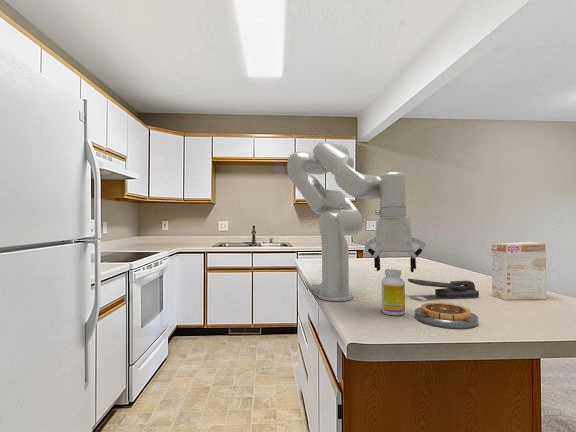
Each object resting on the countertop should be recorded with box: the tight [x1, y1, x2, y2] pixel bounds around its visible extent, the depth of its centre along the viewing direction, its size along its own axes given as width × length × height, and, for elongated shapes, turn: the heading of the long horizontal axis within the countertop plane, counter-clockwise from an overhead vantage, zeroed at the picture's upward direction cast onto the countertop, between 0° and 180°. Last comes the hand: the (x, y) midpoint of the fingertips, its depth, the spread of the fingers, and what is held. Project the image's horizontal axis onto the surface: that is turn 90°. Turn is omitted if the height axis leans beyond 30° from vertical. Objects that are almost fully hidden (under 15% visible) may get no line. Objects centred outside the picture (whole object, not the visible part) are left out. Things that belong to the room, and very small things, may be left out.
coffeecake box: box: [491, 241, 547, 301], centre depth 115 cm, size 15×7×20 cm, turn 91°
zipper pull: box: [407, 278, 480, 300], centre depth 117 cm, size 9×7×25 cm
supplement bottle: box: [381, 268, 406, 317], centre depth 97 cm, size 7×7×13 cm
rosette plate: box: [414, 302, 479, 330], centre depth 91 cm, size 16×16×3 cm
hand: (395, 271), depth 97 cm, fingers open, 9 cm apart
